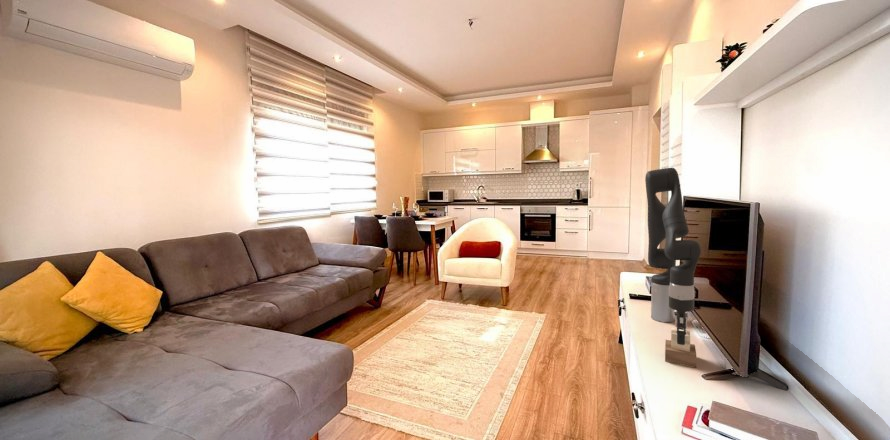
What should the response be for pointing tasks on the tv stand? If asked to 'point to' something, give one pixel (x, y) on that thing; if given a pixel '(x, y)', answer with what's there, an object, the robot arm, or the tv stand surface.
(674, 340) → the birch cube
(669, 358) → the walnut base block
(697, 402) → the tv stand surface
